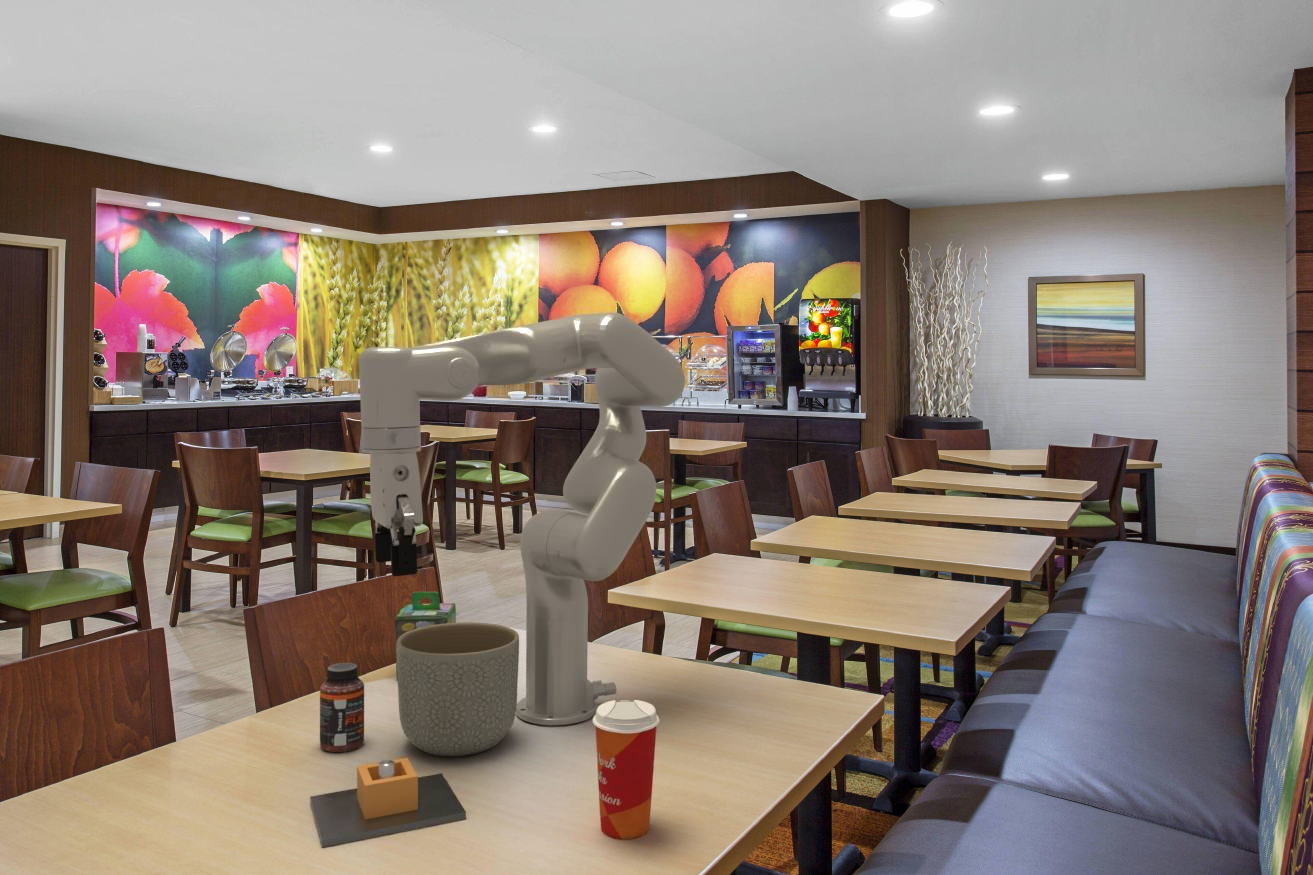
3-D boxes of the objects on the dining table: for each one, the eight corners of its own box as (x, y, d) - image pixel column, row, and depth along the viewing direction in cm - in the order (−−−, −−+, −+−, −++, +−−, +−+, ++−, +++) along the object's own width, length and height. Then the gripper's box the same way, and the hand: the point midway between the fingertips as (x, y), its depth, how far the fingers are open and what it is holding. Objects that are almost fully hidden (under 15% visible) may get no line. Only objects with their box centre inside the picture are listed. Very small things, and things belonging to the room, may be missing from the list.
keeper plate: (441, 779, 119) (441, 735, 119) (465, 818, 108) (465, 770, 108) (310, 802, 112) (309, 756, 112) (322, 847, 101) (321, 795, 101)
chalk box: (457, 665, 168) (457, 584, 167) (448, 681, 159) (448, 596, 158) (406, 665, 167) (405, 584, 166) (394, 681, 158) (393, 596, 157)
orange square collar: (407, 789, 114) (407, 757, 114) (417, 809, 109) (417, 776, 109) (357, 798, 112) (357, 765, 111) (365, 819, 106) (365, 785, 106)
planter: (464, 777, 120) (464, 661, 119) (370, 751, 128) (370, 642, 127) (542, 735, 134) (542, 631, 134) (453, 714, 143) (453, 616, 142)
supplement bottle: (350, 755, 126) (350, 674, 126) (311, 751, 127) (310, 671, 127) (372, 739, 132) (372, 661, 132) (334, 735, 133) (334, 658, 133)
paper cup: (591, 813, 110) (592, 698, 109) (655, 811, 111) (656, 696, 110) (592, 845, 102) (593, 722, 102) (661, 843, 103) (662, 720, 102)
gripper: (437, 443, 116) (441, 577, 118) (404, 435, 131) (408, 553, 133) (376, 446, 113) (381, 584, 114) (350, 437, 128) (354, 559, 129)
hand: (395, 567), depth 123 cm, fingers open, 9 cm apart
